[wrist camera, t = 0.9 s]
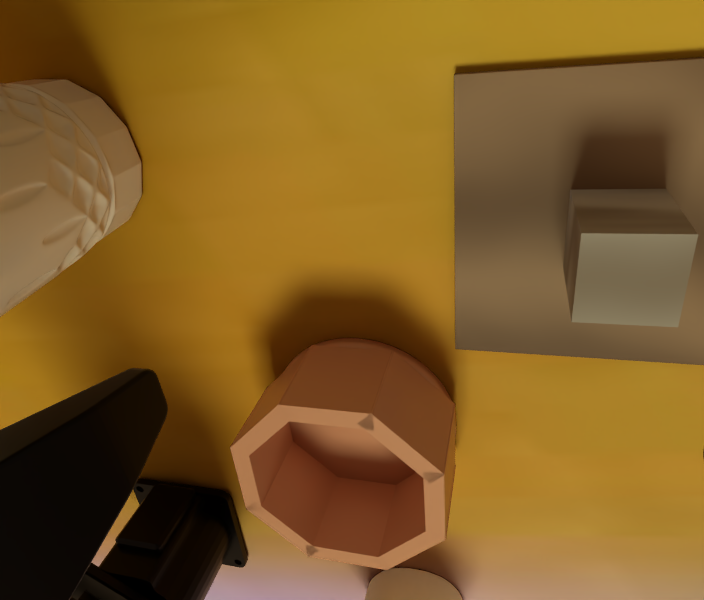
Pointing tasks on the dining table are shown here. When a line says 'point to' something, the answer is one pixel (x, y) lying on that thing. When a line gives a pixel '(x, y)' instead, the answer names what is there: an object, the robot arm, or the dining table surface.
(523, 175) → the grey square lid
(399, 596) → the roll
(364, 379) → the terracotta bowl
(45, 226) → the white cup
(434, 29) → the dining table surface
